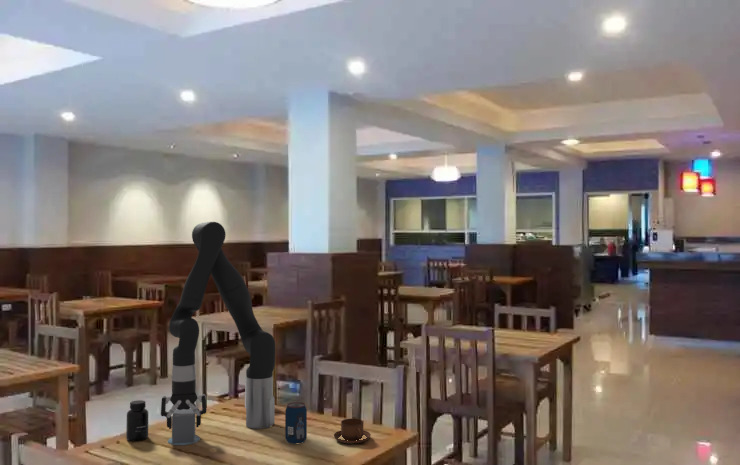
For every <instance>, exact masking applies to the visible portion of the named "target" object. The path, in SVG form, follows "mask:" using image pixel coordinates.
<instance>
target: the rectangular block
mask: <svg viewBox="0 0 740 465" xmlns="http://www.w3.org/2000/svg"><path fill="white" fill-rule="evenodd" d="M171 416H172V428H171V438H172V444H175V443H191V442H194V440H195V435H196V413H195V412H194V411H193V410H192V409H191V408H190V409H188V410H186V409H182V410H179V409H176V410H175V411H174V413H173V414H172V415H171ZM172 444H171V445H172Z"/></svg>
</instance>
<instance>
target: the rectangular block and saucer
mask: <svg viewBox="0 0 740 465" xmlns="http://www.w3.org/2000/svg"><path fill="white" fill-rule="evenodd" d="M340 426H341V427H340V430H338V431H336V432H334V434H333V437H334V438H335V440H336V441H338V442H340V443H344V444H349V443H355V444H360V443H364V442H367V441H368V440H369V439H370V438H371V433H370V432H369V431H367V430H365V429H364V420H362V419H359V418H346V419H343V420H341V421H340ZM341 435H342V437H343V438H344V439H345V440H341V439H338V438H339V437H340V436H341ZM363 435H365V436H366V437H367V438H366V439H363V440H359V439H361V438H362V436H363ZM347 440H348V441H347ZM356 440H357V441H356Z"/></svg>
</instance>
